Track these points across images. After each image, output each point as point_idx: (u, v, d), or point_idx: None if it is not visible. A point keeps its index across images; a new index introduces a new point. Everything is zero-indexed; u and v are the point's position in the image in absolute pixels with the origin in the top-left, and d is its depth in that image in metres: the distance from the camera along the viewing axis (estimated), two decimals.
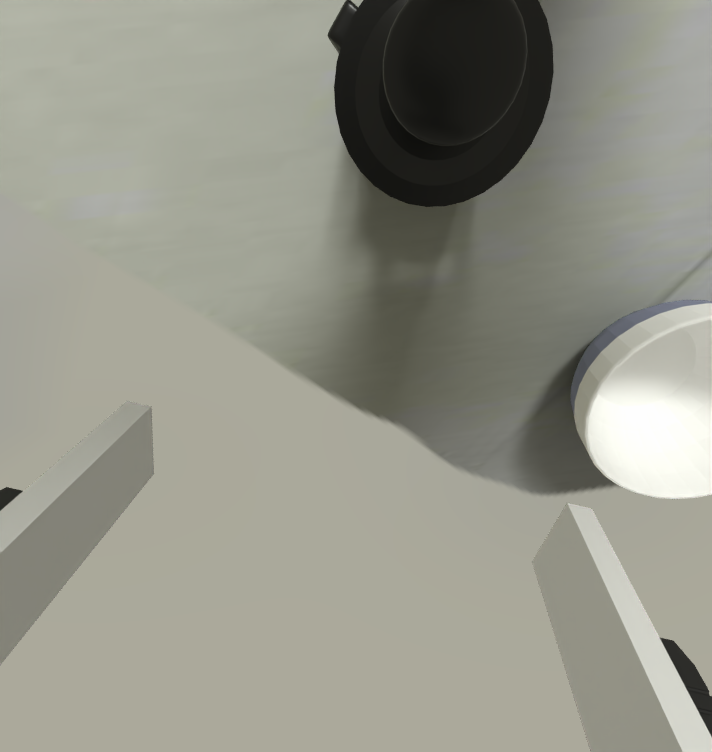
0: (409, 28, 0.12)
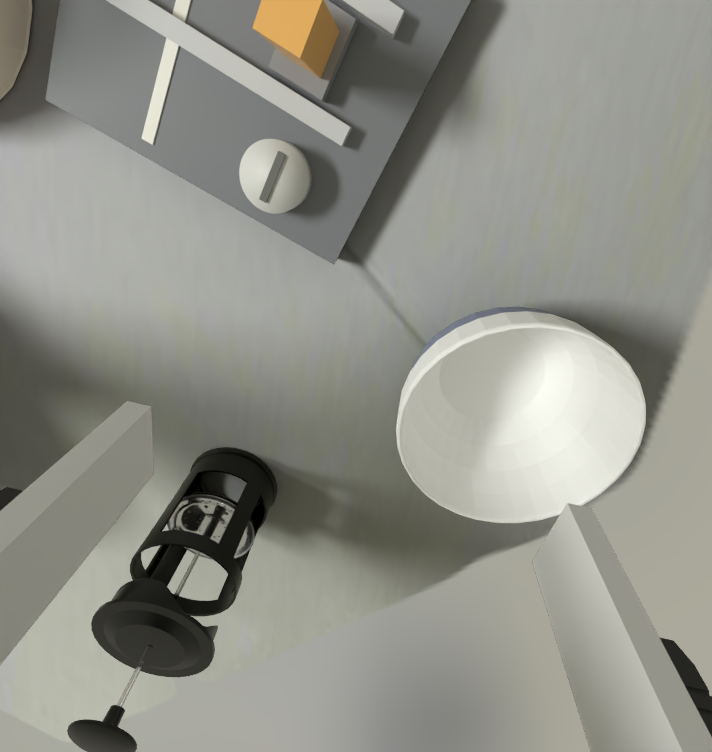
0: (85, 750, 0.26)
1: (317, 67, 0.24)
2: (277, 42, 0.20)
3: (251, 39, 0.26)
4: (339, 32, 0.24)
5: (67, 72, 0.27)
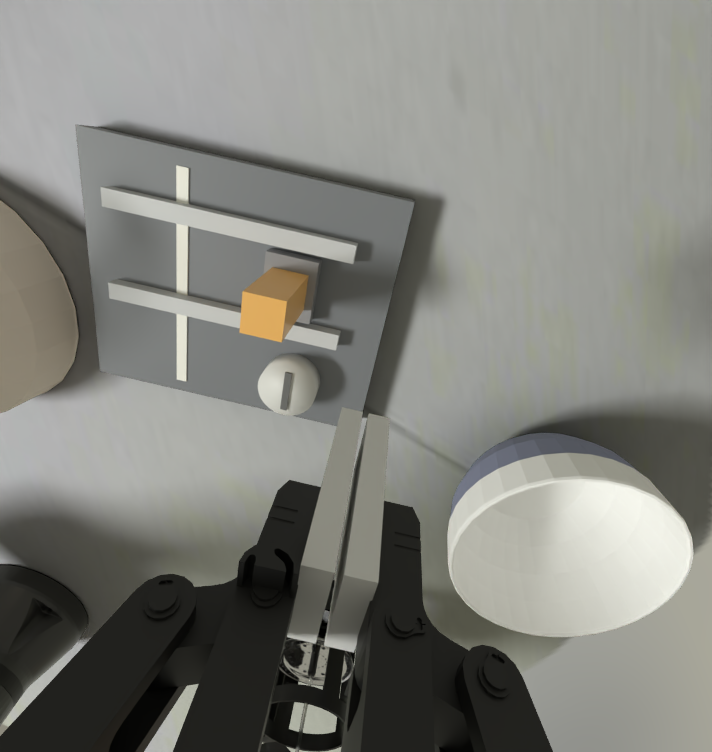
0: None
1: (298, 314, 0.28)
2: (261, 336, 0.24)
3: (241, 292, 0.31)
4: (308, 275, 0.28)
5: (111, 349, 0.34)
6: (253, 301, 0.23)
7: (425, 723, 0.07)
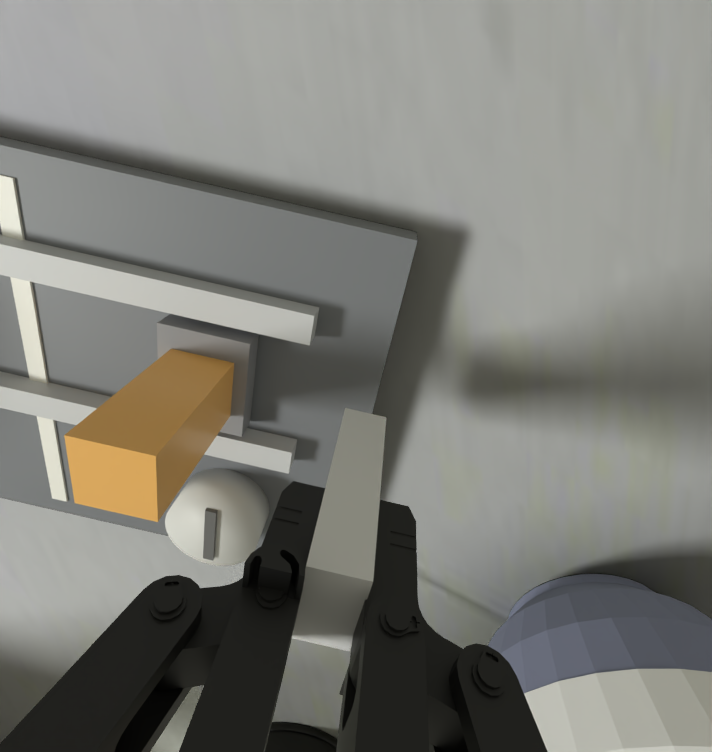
0: None
1: (213, 434, 0.16)
2: (117, 511, 0.12)
3: None
4: (233, 363, 0.16)
5: None
6: (89, 453, 0.11)
7: (419, 721, 0.07)
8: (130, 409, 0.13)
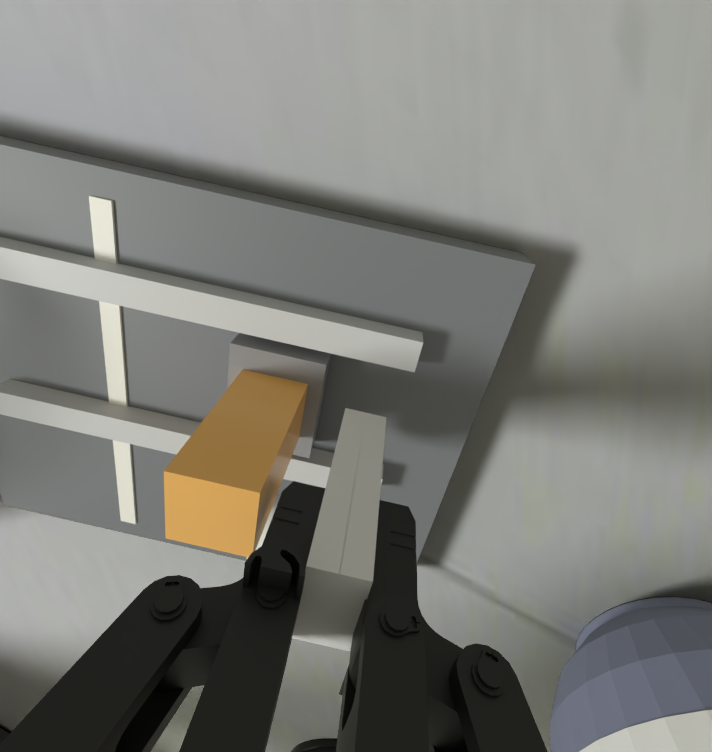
0: None
1: (289, 459, 0.15)
2: (210, 547, 0.12)
3: None
4: (307, 384, 0.16)
5: (15, 477, 0.22)
6: (188, 489, 0.11)
7: (419, 721, 0.07)
8: (221, 439, 0.12)
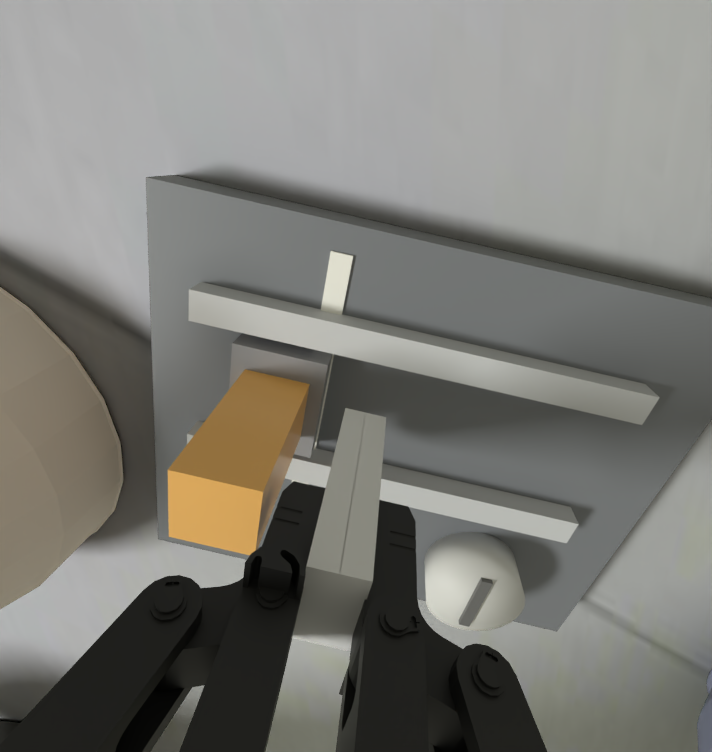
0: None
1: (290, 458, 0.15)
2: (213, 545, 0.12)
3: (409, 447, 0.18)
4: (309, 384, 0.16)
5: None
6: (192, 488, 0.11)
7: (419, 721, 0.07)
8: (224, 439, 0.12)
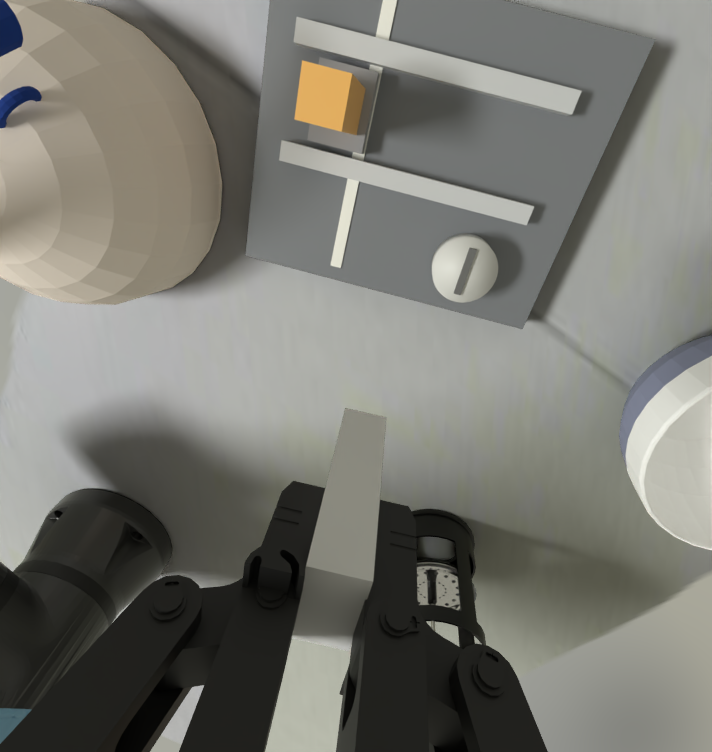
0: None
1: (353, 128, 0.25)
2: (318, 124, 0.22)
3: (425, 157, 0.28)
4: (365, 89, 0.25)
5: (262, 229, 0.31)
6: (313, 74, 0.21)
7: (419, 721, 0.07)
8: None
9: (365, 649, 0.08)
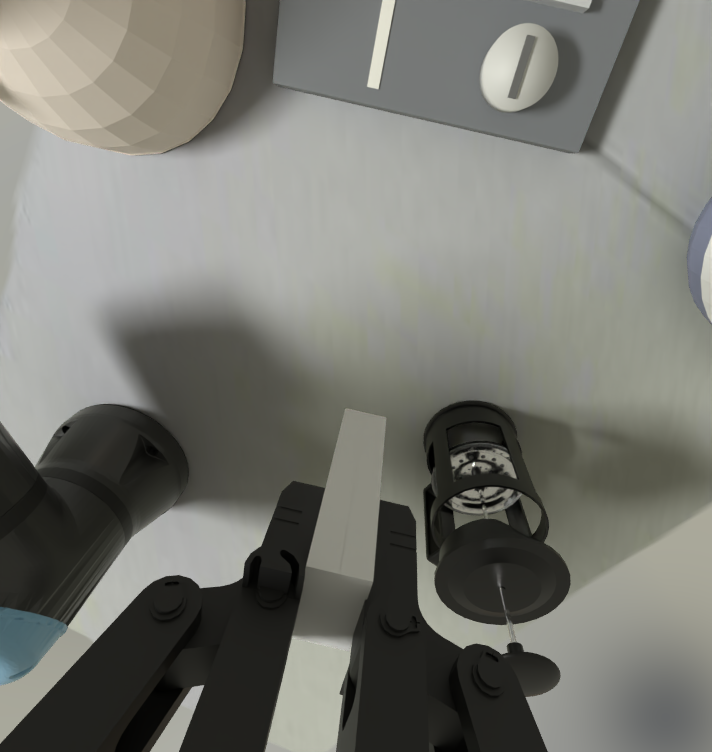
0: None
1: None
2: None
3: None
4: None
5: (292, 45, 0.29)
6: None
7: (419, 721, 0.07)
8: None
9: (365, 649, 0.08)
